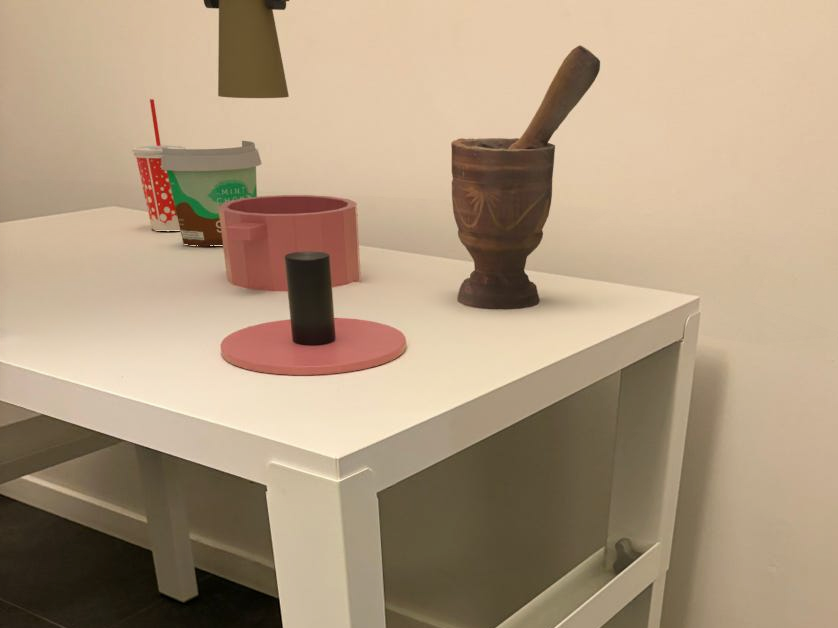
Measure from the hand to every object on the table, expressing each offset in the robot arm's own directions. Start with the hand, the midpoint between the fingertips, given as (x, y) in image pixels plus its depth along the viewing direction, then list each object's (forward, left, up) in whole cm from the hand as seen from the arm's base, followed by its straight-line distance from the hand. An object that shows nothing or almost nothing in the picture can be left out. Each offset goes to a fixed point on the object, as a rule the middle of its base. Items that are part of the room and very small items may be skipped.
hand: (245, 7), depth 82 cm
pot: (+1, +3, -22) cm, 23 cm away
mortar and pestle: (+24, +2, -23) cm, 33 cm away
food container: (-16, +19, -23) cm, 34 cm away
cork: (0, 0, -7) cm, 7 cm away
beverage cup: (-28, +24, -23) cm, 43 cm away
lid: (+15, -19, -22) cm, 33 cm away
